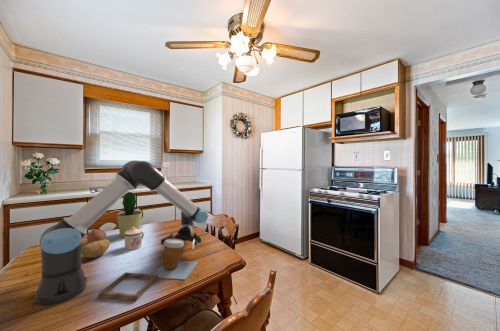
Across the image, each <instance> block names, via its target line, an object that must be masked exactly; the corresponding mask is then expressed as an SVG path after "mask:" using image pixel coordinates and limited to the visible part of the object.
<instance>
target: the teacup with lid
mask: <svg viewBox="0 0 500 331" xmlns="http://www.w3.org/2000/svg"><path fill="white" fill-rule="evenodd" d="M124 235H125V237H124V249H125V250H128V251H131V250H137V249H140V248H141V246H142V240H143V239H144V236H145V233H144V232H143V230H142V229H140V230H139V229H135V227H132V228H131V229H130V230H129V231H126V232H125V234H124Z"/></svg>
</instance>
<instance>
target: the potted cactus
mask: <svg viewBox="0 0 500 331" xmlns="http://www.w3.org/2000/svg"><path fill="white" fill-rule="evenodd" d="M121 199H122V201H121V202H120V204H122V206H123V211H122V212H118V213H117V214H116V218H117V224H118V230H119V235H120V238H125V235H124V234H125V232H126V231H129V230H130V229H131V228H132V227H135V229H139V230H141V223H142V218H143V211H141V210H135V209H136V205H137V202H138V201H137V200H138V199H137V197H136V195H135V193H134V191H132V192H131V191H128V192H127V193H126V194H125V195H124V196H122V197H121Z"/></svg>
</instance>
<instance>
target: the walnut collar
mask: <svg viewBox="0 0 500 331" xmlns="http://www.w3.org/2000/svg"><path fill="white" fill-rule="evenodd" d="M125 279H139V280H148V281H147V282H146V283H145V284H144V285H143V286H142V287H141V288H140V289H139V290H138V291H137V292H136V293H126V292H125V293H123V292H113V291H112V292H111V290H113V289H114V288H115V287H116V286H118V285H119V284H121V282H123V281H124V280H125ZM158 279H159V278H158V275H156V274H154V273H140V272H139V273H137V272H124V273H123V274H121V275H120V276H119V277H118V278H116V279H115V280H114V281H112V282H111V283H109V284H108V286H106V287H104V288H103V289H102V290H100V291H99V292H98V298H99V299H109V300H119V301H132V302H136V301H138V300H139V299H140V298H141V297H142V296H143V294H145V293H146V292H147V290H148V289H149V288H151V287H152V285H153V284H154V283H155V282H156V281H157V280H158Z"/></svg>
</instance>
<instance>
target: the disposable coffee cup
mask: <svg viewBox="0 0 500 331" xmlns="http://www.w3.org/2000/svg"><path fill="white" fill-rule="evenodd" d="M184 246H185V241H183V240H180V239H166V240H165V242H164V251H163V260H162V263H163V264H162V265H163V267H164V268H166V269H174V268H176V267H177V265H178V261H180V257H181V255H182V254H181V253H182V250H183V247H184Z"/></svg>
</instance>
